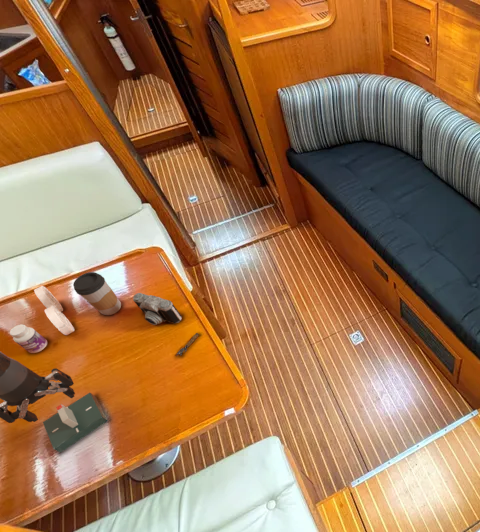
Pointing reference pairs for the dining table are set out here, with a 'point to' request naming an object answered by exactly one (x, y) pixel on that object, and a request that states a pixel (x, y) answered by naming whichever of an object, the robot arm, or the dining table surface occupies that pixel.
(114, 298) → the coffee cup
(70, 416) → the tap handle
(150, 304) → the camera
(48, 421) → the green switch panel
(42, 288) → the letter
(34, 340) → the pill bottle
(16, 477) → the dining table surface
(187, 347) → the can opener
